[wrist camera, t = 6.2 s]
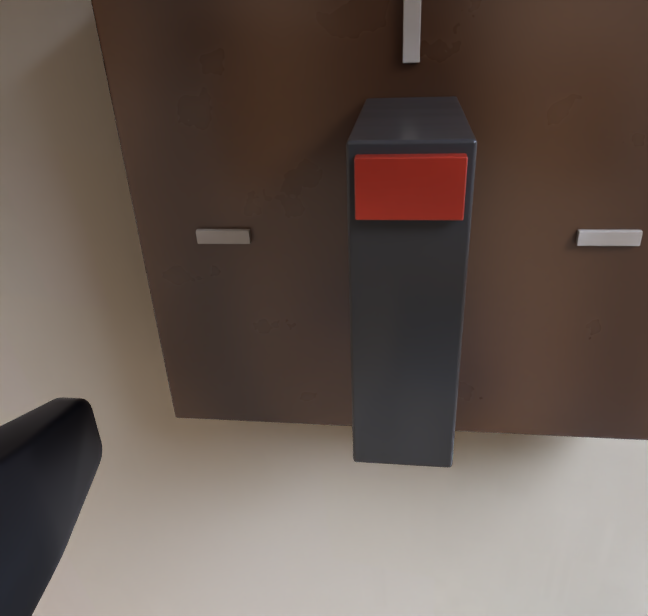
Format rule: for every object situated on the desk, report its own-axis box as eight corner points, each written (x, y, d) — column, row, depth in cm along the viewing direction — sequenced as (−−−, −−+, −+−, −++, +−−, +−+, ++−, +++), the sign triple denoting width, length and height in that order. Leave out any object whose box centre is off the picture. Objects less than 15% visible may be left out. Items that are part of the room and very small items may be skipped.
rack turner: (442, 351, 16) (453, 477, 12) (367, 348, 16) (351, 470, 12) (457, 96, 13) (479, 143, 9) (365, 98, 13) (343, 144, 9)
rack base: (205, 365, 21) (173, 421, 18) (140, -24, 15) (80, -29, 12) (624, 379, 19) (661, 445, 16) (725, -60, 13) (806, -75, 11)
